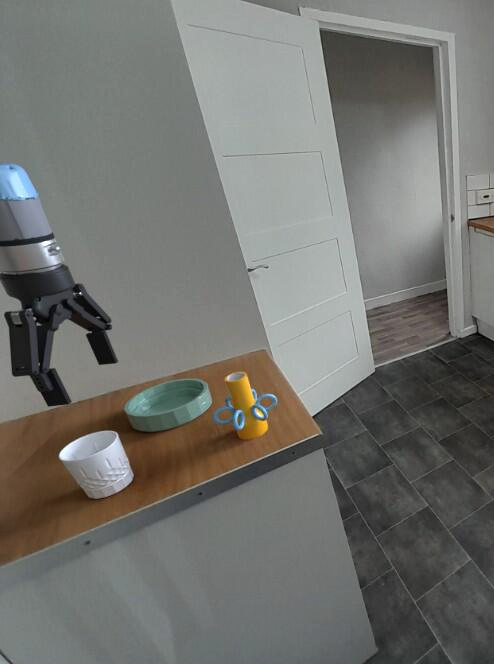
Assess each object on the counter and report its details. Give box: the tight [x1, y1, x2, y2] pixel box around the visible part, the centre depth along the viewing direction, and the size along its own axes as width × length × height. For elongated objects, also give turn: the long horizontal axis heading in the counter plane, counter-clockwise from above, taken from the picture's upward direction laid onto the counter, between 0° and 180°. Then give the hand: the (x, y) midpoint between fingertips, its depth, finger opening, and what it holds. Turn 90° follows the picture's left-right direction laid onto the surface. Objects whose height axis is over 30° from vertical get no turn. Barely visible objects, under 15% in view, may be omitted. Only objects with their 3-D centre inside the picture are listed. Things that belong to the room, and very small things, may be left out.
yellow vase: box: [212, 371, 278, 441], centre depth 90 cm, size 12×10×15 cm
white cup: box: [58, 430, 135, 500], centre depth 76 cm, size 8×8×10 cm
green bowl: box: [123, 378, 213, 433], centre depth 98 cm, size 16×16×5 cm
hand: (86, 382), depth 73 cm, fingers open, 13 cm apart
